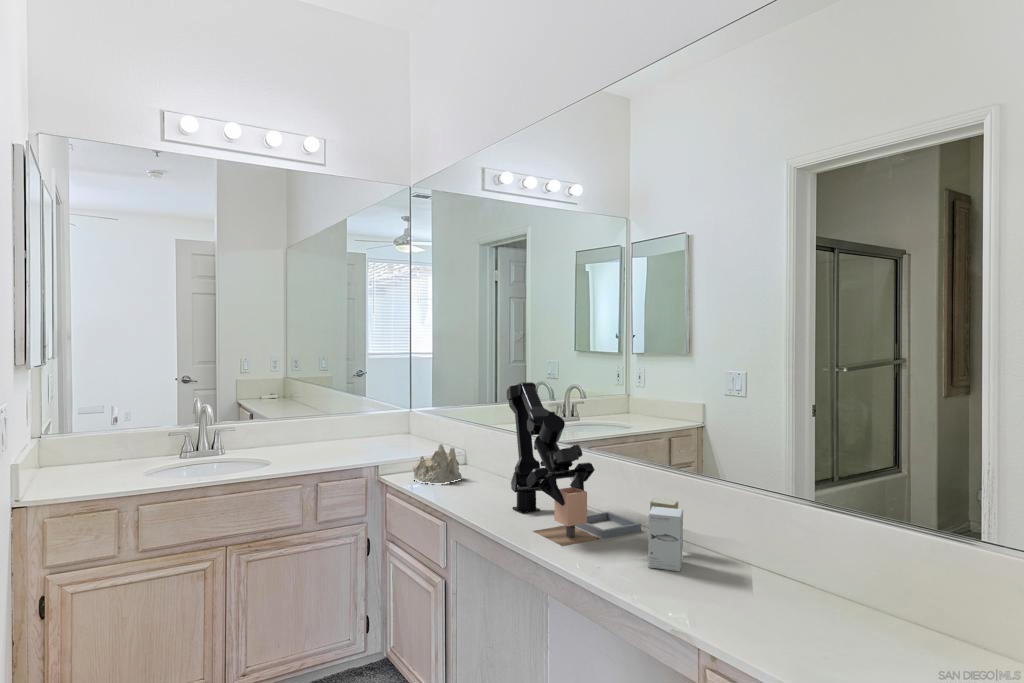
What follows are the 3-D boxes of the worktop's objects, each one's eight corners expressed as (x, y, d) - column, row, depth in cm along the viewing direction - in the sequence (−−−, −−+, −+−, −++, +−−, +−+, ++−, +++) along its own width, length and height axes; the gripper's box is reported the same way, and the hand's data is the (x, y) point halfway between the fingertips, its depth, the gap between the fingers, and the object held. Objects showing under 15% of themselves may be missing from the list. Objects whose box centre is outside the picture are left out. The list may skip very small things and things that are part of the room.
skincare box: (648, 550, 153) (648, 501, 153) (653, 545, 157) (653, 497, 157) (674, 554, 150) (674, 504, 150) (678, 549, 154) (678, 500, 154)
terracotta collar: (551, 518, 161) (551, 488, 161) (570, 515, 164) (570, 485, 164) (567, 526, 155) (567, 494, 155) (587, 523, 158) (587, 491, 158)
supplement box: (647, 568, 141) (647, 513, 141) (651, 557, 148) (651, 505, 148) (680, 572, 138) (680, 516, 138) (683, 561, 145) (683, 508, 145)
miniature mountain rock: (468, 479, 232) (465, 439, 232) (434, 488, 220) (432, 446, 220) (441, 475, 243) (438, 437, 243) (407, 484, 230) (405, 444, 231)
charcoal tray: (570, 529, 170) (570, 517, 170) (608, 522, 176) (608, 511, 176) (602, 544, 158) (602, 531, 158) (641, 536, 164) (641, 523, 164)
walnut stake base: (532, 536, 164) (532, 508, 164) (569, 529, 170) (569, 502, 170) (562, 552, 151) (562, 521, 152) (601, 544, 157) (601, 515, 157)
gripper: (532, 437, 158) (556, 490, 148) (590, 432, 167) (616, 481, 157) (516, 463, 164) (538, 514, 155) (573, 456, 174) (597, 505, 164)
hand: (573, 503), depth 158 cm, fingers closed on terracotta collar, 6 cm apart
